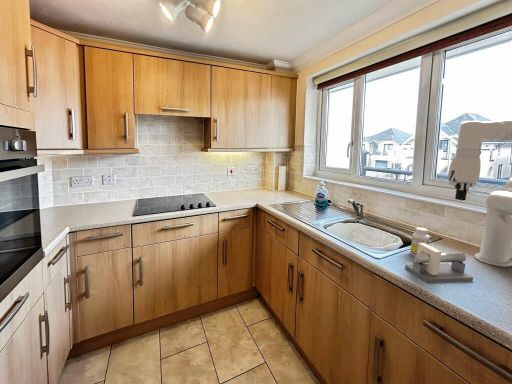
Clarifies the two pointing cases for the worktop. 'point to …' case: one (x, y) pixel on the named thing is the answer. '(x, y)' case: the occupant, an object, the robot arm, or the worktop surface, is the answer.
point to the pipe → (455, 258)
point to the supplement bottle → (419, 239)
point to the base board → (441, 275)
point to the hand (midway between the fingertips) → (460, 199)
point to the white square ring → (434, 257)
